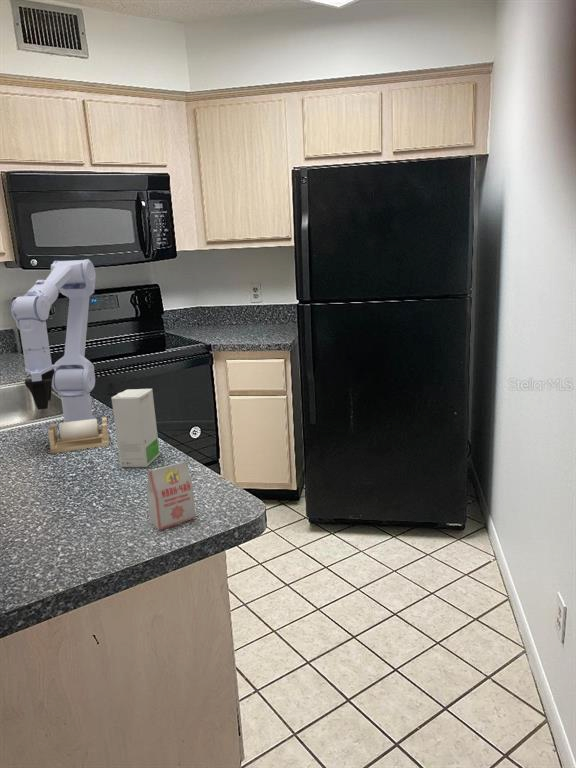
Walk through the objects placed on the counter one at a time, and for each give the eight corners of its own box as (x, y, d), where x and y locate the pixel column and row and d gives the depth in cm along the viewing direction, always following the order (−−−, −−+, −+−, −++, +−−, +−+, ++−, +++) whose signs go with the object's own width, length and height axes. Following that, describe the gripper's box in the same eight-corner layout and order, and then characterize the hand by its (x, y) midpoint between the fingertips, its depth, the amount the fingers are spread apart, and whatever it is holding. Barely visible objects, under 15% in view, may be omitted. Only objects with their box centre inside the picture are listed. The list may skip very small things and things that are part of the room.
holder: (53, 442, 147) (50, 423, 146) (108, 435, 151) (106, 416, 149) (50, 453, 140) (47, 432, 138) (108, 445, 143) (106, 425, 142)
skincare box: (146, 468, 128) (139, 397, 124) (117, 468, 129) (108, 397, 125) (160, 454, 136) (154, 387, 132) (133, 454, 137) (125, 387, 133)
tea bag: (150, 522, 103) (144, 467, 101) (186, 511, 107) (181, 458, 104) (158, 530, 100) (152, 474, 98) (195, 518, 104) (190, 464, 101)
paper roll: (59, 443, 141) (57, 423, 141) (61, 442, 146) (59, 422, 146) (99, 438, 143) (97, 418, 143) (100, 437, 148) (98, 418, 148)
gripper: (51, 351, 133) (60, 410, 136) (56, 341, 147) (64, 395, 150) (17, 354, 131) (26, 414, 135) (25, 344, 145) (34, 398, 148)
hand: (44, 404), depth 142 cm, fingers open, 7 cm apart
